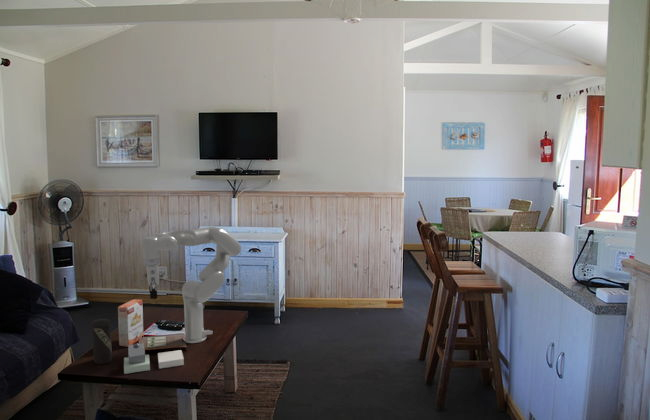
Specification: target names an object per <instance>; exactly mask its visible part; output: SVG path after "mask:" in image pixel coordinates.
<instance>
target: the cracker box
mask: <svg viewBox="0 0 650 420" xmlns="http://www.w3.org/2000/svg"><path fill="white" fill-rule="evenodd" d="M143 310H144V309H143V299H134V298H133V299H131V300H129V301H128V302H125V303H123V304H121V305H119V306H118V307H117V320H118V325H117V326H118V345H119V347H128V345H133V344H135V343H136V342H137V343H138V341H139V338H140V337H142V336H143V337H144V312H143Z"/></svg>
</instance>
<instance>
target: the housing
mask: <svg viewBox="0 0 650 420" xmlns="http://www.w3.org/2000/svg"><path fill="white" fill-rule="evenodd" d="M127 349H128V357H129V364H134V363H141V362H145V355H146V351H145V342H142V343H138V342H137V343H136V342H135V343H134V344H132V345H128V348H127Z"/></svg>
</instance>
